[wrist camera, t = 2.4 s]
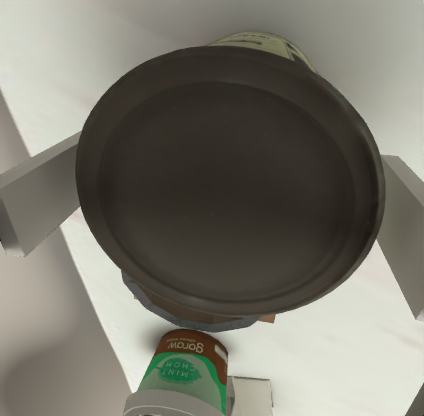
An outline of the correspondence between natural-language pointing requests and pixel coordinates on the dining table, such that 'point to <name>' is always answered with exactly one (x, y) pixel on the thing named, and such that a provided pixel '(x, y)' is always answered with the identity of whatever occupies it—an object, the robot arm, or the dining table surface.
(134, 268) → the coffee can
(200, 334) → the food container
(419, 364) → the dining table surface
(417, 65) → the dining table surface
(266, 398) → the skyscraper
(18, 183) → the robot arm
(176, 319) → the collar
